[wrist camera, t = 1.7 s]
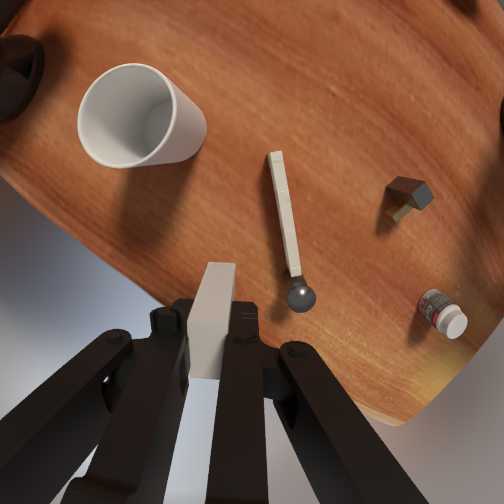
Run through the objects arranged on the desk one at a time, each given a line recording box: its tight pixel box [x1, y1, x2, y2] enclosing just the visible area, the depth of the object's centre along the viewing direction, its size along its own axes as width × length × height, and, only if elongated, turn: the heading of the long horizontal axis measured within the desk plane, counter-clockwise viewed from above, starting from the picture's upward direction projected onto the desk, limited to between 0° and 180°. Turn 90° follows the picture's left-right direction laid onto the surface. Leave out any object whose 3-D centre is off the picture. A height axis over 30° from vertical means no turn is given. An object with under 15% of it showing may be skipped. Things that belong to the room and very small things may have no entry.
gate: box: [267, 151, 302, 277], centre depth 35 cm, size 14×1×5 cm, turn 11°
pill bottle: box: [419, 289, 468, 339], centre depth 38 cm, size 5×5×8 cm
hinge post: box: [284, 268, 316, 313], centre depth 36 cm, size 3×3×7 cm
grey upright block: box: [385, 176, 434, 223], centre depth 33 cm, size 3×5×7 cm, turn 131°
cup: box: [77, 63, 207, 168], centre depth 26 cm, size 8×8×16 cm
